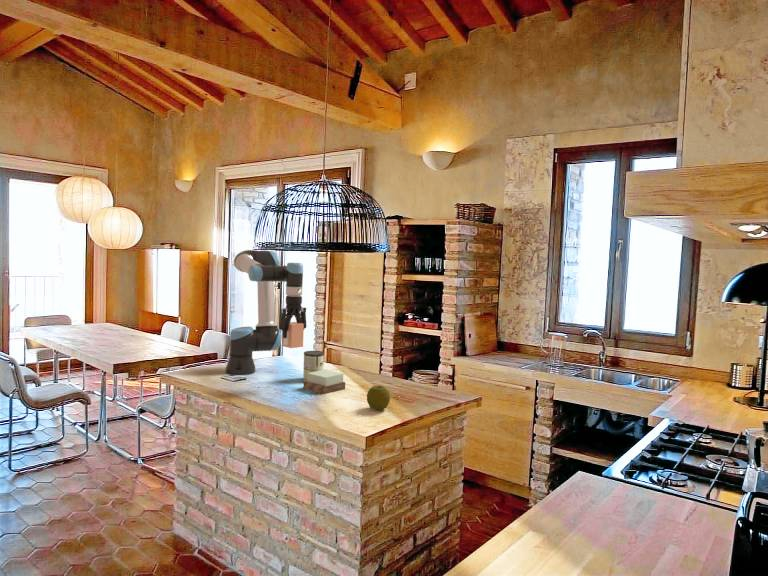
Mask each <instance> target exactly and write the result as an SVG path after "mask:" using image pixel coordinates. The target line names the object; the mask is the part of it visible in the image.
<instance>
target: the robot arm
mask: <svg viewBox="0 0 768 576" xmlns="http://www.w3.org/2000/svg"><path fill="white" fill-rule="evenodd" d="M257 250H258V249H257ZM257 250H253V249H245V250H243V251H240V252H238V253H237V254H236V255H235V256H234V259H233V264H234V267H235V269H237V271H239V272H242V273H246V274H247V275H248V279H249V280H250V281H251V282H257V283H256V284H257V319H258V320H257V321H258V322H257V324H255V329H254V327H252V326H239V327H236V328H233V329H231V330H230V333H229V358H228V360H227V364H226V367H225V373H226V374H229V375H235V376H236V375H240V376H241V375H251V374H254V373H255V372H256V366H255V365H256V364H255V361H254V358H253V353H254V352H267V351H268V352H271V351H276V350H278V349H279V348H280V345H282V331H283V338H284V345H288V343H289V331H287V330H288V327H289V324H290V322H292V321H291V320H292V318H293V317H295V322H297V323H303V324H304V330H305V329H307V316H306V315H307V307H303V306H302V303H303V297H302V296H303V278H304V277H303V276H304V265H303V263H301V262H287V263H286V265H281V264H280V258H279V255H278V253H277V252H275V251H273V250H268V251H267V250H261V251H257ZM274 282H283V283H284V282H285V285H286V286H285V295H286V296H285V305H286V306H285V307H284V308H280V321H279V326H278V324H277V322H275V299H274V298H275V291H274V290H275V289H274V288H275V287H274ZM278 327H279V328H278Z"/></svg>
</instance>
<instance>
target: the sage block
mask: <svg viewBox="0 0 768 576" xmlns="http://www.w3.org/2000/svg"><path fill="white" fill-rule="evenodd" d="M307 382H311V383H315V384H319V385H323V386H329V385H333V384H337V383H341V382H344V373H341V372H338V371H334V370H333V371H332V370H328V369H323V370H321V371H316V372H311V373H308V379H307Z"/></svg>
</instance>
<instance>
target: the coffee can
mask: <svg viewBox="0 0 768 576" xmlns="http://www.w3.org/2000/svg"><path fill="white" fill-rule="evenodd" d="M324 362H325V352H324V351H320V350H306V351H304V352H303V374H302V375H303V378H302V379H303V380H302V381H303V382H304V381H307V379H308V373H311V372H316V371H321V370H324V367H325V366H324V364H325V363H324Z"/></svg>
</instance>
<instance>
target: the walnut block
mask: <svg viewBox="0 0 768 576" xmlns="http://www.w3.org/2000/svg"><path fill="white" fill-rule="evenodd" d="M303 389H304V390H307V391H312V392H315V393H318V394H322V395H327V394H330V393H331V394H332V393H334V392H336V393H337V392H340V391H344V390H346V382H345V381H343V382H341V383H337V384H333V385H329V386H323V385H319V384H315V383H311V382H307V381H304V380H303Z"/></svg>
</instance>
